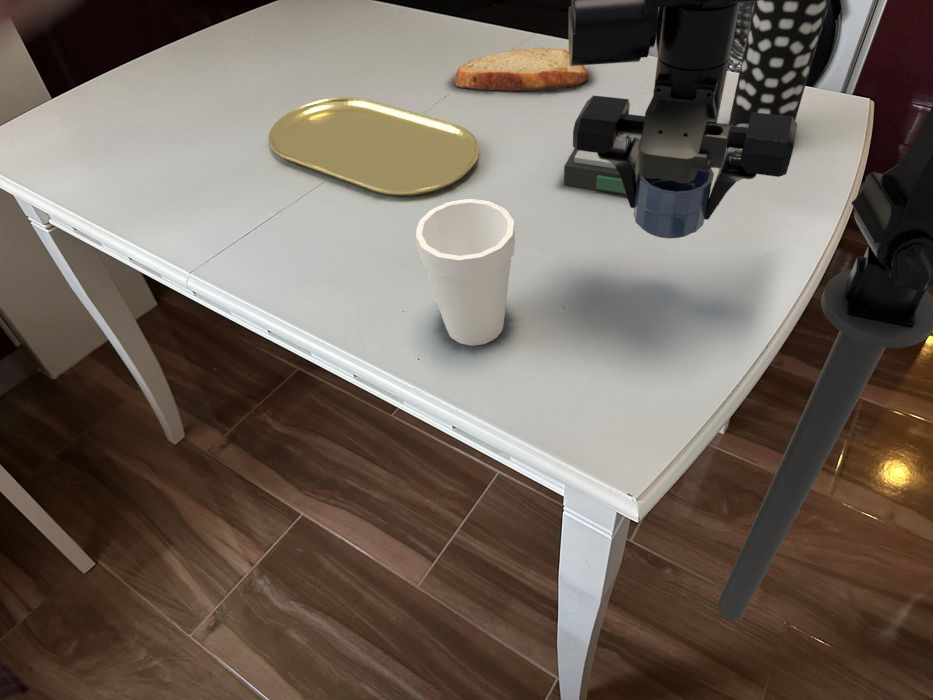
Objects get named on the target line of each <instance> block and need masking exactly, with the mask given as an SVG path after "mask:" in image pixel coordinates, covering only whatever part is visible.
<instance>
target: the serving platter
mask: <svg viewBox="0 0 933 700" xmlns="http://www.w3.org/2000/svg"><path fill="white" fill-rule="evenodd" d="M268 144H269V147H270V148H271V150H272V151H273V152H274V153H276V154H277V155H278V156H279V157H281V158H283V159H285V160H287V161H289V162H292V163H295V164H298V165H301V166H303V167H306V168H309V169H312V170H315V171H317V172H319V173H323V174H326V175H329V176H330V177H331V176H332V177H334V178H337V179H339V180H342V181H346V182H347V183H351V184H353V185H357V186H360V187H362V188H365V189H368V190H370V191H373V192H376V193H380V194H384V195H390V196H417V195H423V194H428V193H432V192H435V191H438V190H439V191H440V190H442V189H444V188H446V187H448V186H450V185H453V184H455V183H457V181H459V180H460V179H462V178H463V177H464V176H466V175H467V174H468V173H469V172H470V171H471V170H472V169H473V167H474V166H475V164H476V162H477V160H478V158H479V155H480V146H479V142H478V140H477V138H476V137H475V136H474V134H473V133H472V132H471V131H470V130H468V129H467V128H465V127H463V126H461V125H459V124H456V123H453V122H449V121H445V120H442V119H439V118H435V117H431V116H427V115H425V114H421V113H417V112H413V111H410V110H406V109H402V108H400V107H396V106H392V105H388V104H386V103H381V102H378V101H374V100H371V99H367V98H361V97H360V98H359V97H354V96H353V97H350V96H349V97H346V96H345V97H341V96H340V97H331V98H326V99H321V100H316V101H312V102H309V103H307V104H306V103H305V104H303V105H301V106H299V107H296V108H294V109H293V110H292V109H291V111H289V112H287V113H285V114H284V115H282V116H281V117H280V118H279V119H278V120H277V121H276V122H275V123H274V124H273V125H272V127H271V128H270V130H269V133H268Z"/></svg>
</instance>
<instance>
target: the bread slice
mask: <svg viewBox="0 0 933 700" xmlns="http://www.w3.org/2000/svg"><path fill="white" fill-rule="evenodd" d="M453 79H454V80H453V83H454V85H455V86H456V87H458V88H460V89H461V88H462V89H465V88H466V89H467V88H468V89H471V90H473V89H474V90H478V91H481V90H482V91H483V90H485V91H511V92H513V91H524V92H525V91H536V92H537V91H541V90H549V91H552V90H554V89H561V88H562V89H563V88H571V87H576V86H579V85H582V84H583V83H586V82H588V81H590V75H589V74H588V71H587V69H586V67H585V65H580V66H570V61H569V50H567V49H565V48H547V47H539V48H538V47H537V48H536V47H534V48H521V49H520V48H519V49H513V50H510V51H507V52H500V53H494V54H490V55H484V56H481V57H478V58H476V59H472V60H470V61H467V62H465V63H464V64H462V65H460V66H459V67H458V68H457V71H456V73H455V75H454V78H453Z"/></svg>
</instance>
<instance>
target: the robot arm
mask: <svg viewBox="0 0 933 700" xmlns="http://www.w3.org/2000/svg"><path fill="white" fill-rule="evenodd" d="M570 1H571V4H570V6H568V18H567V19H568V20H567V21H568V24H567V26H568V30H567V31H568V34H567V36H568V51H569V61H570V66H580V65H584V66H593V65H608V64H624V63H638V62H640V61H641V59H642V58H643V59H644V58H648V57H649V53H650V48H651V49H652V48H654V47H655V45H656V41H657V37H658V25H659V11H660V8H663V9H662V16H661V17H662V18H661V27H660V35H659V42H658V43H659V45H658V53H657V59H656V60H657V62H656V70H655V78H654V85H653V86H654V87H653V95H652V98H651V100H650V102H649V104H648V106H647V108H646V110H645V112H644V115H638V114H630V106H631V103H630V100H629V98H622V97H613V96H612V97H611V96H603V95H601V96H600V95H594V94H593V95H592V96H591V97H590V98H589V99H587V101H586V102H585V103H584V105H583V107H582V109H581V111H580V113H578V116H577V118H576V119H575V122H574V125H573V129H572V147H573V149H576V150H580V151H587V152H595V153H598V157H599V158H600V159H603V160H607V161H609V162H611V163H612V164H614V165H615V167H616V169H617V171H618V173H619V175H620V177H621V180H622V182H623V186H624V189H625V192H626V195H627V196H626V195H625V196H626V198H627V200H628V205H629V207H630V209H634V205H635V196H636V186H637V177H638V171H639V174H640V175H641V176H642V177H644V178H649V179H653V178H659V179H666V180H673V181H676V182H677V183H688V182H691V181H693V180H694V179H695V177H696V175H697V171H703V172H704V171H705V172H709V169H710V168H711V169H712V168H715V169H718V172H717V174H716V178H715V180H714V182H713V186H712V187H711V191H710V196H709V200H708V204H707V207H706V212H705V218H704V219H705V221H708V220H709V219H710V218H711V216H712V215H713V214H714V212H715V211H716V209H717V207H718V206H719V204H720V203H721V202H722V201H723V199H724V197H725V196H726V194H728V192H729V191H730V190H731V188H733V186H734V185H735V184H736V183H737V182H739V181H741V180H753V179H754V178H756V177H757V175H760V176H761V175H762V176H769V177H776V178H779V177H782V176H785V175H787V173H788V169H789V166H790V163H791V160H792V155H793V151H794V147H795V141H796V135H797V129H798V123H797V122H796V120H794V118H793V117H792V116H783V115H773V114H764V113H755V112H752V114H751V118H750V121H749V124H738V125H736V126H730V125H729V123H720V122H719V123H718V119H719V115H720V111H721V105H722V100H723V93H724V89H725V83H726V79H727V75H728V69H729V63H730V59H731V53H732V48H733V42H734V36H735V32H736V28H737V27H736V26H737V22H738V16H739V11H740V6H741V3H746V2H747V3H748V2H754V1H762V0H570ZM851 205H852V207H853V209H854V212H853V217H854V219H855V223H856V224H857V226H858V228H859V230H860V232H861V234H862V235H863V237H864V239H865V240H866V242H867V243H868V245H867V249H866V250H865V253H864V255H863V256H860V255H859V256H858V257H856V259H855V261H854V264H853V265H852V268H851V270H852V271H851V273H850V276H849V278H848V280H847V283H846V289H845V298H846V299H847V300H848V304H847V314H848V315H851V316H855V317H860V318H865V319H870V320H875V321H880V322H885V323H889V324H894V325H899V326H904V327H910V328H911V327H913V326H914V324H915V311H916V309H917V307H918V306H919V304H920V302H921V300H922V298H923V296H924V295H925V293H926V291H928V289H929V288H930V287H931V286H933V104H932V105H931V108H930V109H929V111H928V113H927V115H926V116H925V118H924V120H923V122H922V124H921V126H920V128H919V129H918V131H917V133H916V135H915V137H914V139H913V140H912V142H911V144H910V146H909V147H908V150H907V151H906V153H905V155H904V157H903V159H901V161H900V162H899V163H898V164H897V165H895V166H893V167H892V168H890V169H889V170H887V171H885V172H884V173H879V172H874V171H870V172H869V173H868V175H866V177H865V180H864V184H863V187H862V189H861V191H860V192H859V194H858V195H857V196H856V198H855V199H853V200H852V201H851ZM852 311H853V312H852Z"/></svg>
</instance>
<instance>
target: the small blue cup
mask: <svg viewBox="0 0 933 700" xmlns="http://www.w3.org/2000/svg"><path fill="white" fill-rule="evenodd" d="M714 176H715V173H714V171H713V169H712V168H710V169H709V172H705V171H704V172H703V171H697V175H696V177H695V179H694V180H693V181H691V182H688V183H677V182H676V181H673V180H666V179H659V178H653V179H649V178H644V177H642V176H641V175H640V174H639V171H638V177H637V186H636V196H635V205H634V208H633V214H632V215H633V218H634V222H635V223H636V224H637V226H639V227H640V228H641V229H642V230H643V231H645V232H646V233H648V234H649V235H652V236H654V237H657V238H661V239H662V238H663V239H679V238H684V237H687V236H689V235H691V234H694V233H696V232H698V231H699V230H700V229H701V228H702V227H703V226H704V223H705V221H706V219H704V218H705V212H706V207H707V204H708V200H709V197H710V194H711V191H712V187H713V186H712V185H713V181H714Z"/></svg>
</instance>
